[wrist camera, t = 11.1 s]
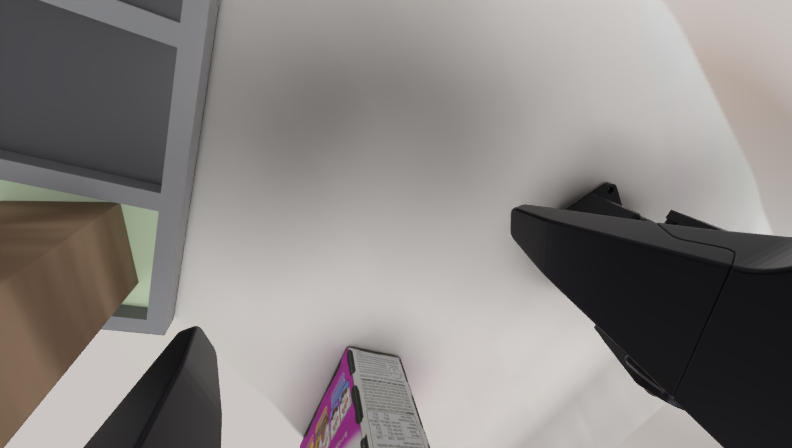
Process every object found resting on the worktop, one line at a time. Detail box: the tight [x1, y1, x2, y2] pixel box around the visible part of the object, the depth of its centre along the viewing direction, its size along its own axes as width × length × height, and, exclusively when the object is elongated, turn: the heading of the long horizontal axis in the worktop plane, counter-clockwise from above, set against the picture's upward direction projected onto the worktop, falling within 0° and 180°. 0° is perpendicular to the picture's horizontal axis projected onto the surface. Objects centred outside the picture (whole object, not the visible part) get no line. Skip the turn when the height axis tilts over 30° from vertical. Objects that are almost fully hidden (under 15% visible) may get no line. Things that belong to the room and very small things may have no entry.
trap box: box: [0, 0, 219, 335], centre depth 15 cm, size 25×10×2 cm, turn 161°
